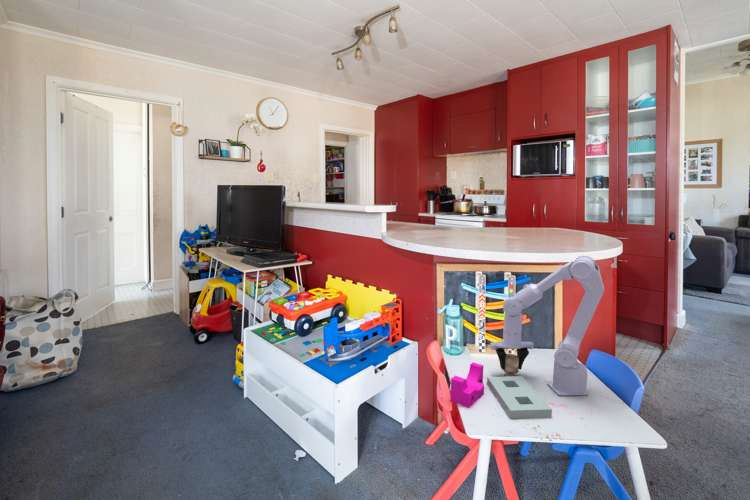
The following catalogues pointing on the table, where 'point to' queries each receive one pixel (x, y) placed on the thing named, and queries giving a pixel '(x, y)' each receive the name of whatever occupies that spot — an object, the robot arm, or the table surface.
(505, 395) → the board
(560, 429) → the table surface
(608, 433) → the table surface
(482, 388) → the toy block
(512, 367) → the beige rounded lump
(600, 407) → the table surface
